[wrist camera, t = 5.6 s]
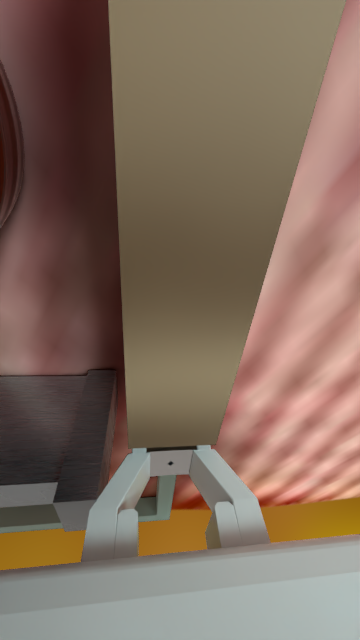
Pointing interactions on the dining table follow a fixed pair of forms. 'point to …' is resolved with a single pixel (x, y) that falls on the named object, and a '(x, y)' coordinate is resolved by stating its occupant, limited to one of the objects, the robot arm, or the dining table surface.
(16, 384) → the gate
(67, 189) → the dining table surface
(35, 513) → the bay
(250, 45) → the wooden blocks
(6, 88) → the mug
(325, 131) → the dining table surface
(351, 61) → the dining table surface
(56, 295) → the dining table surface
